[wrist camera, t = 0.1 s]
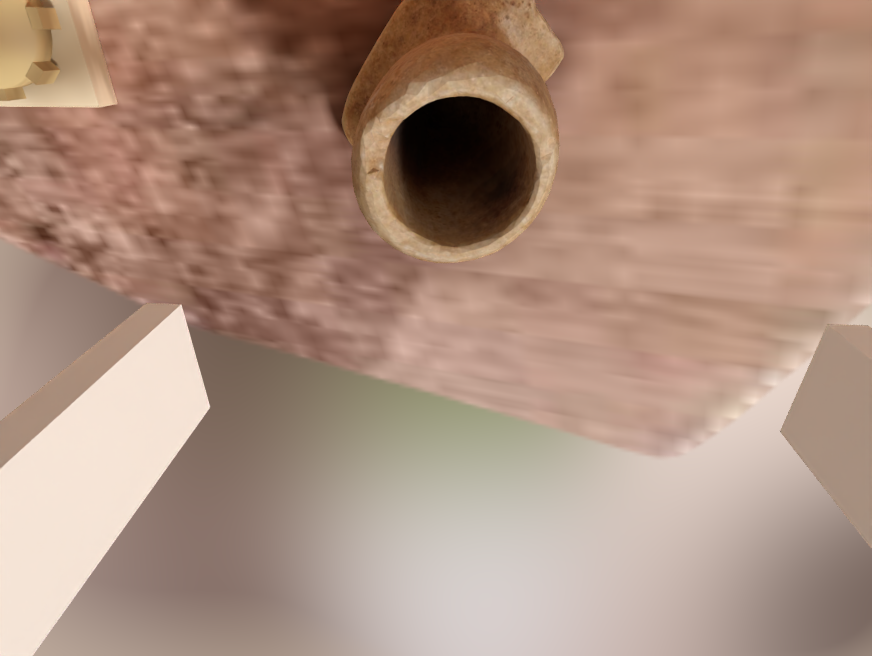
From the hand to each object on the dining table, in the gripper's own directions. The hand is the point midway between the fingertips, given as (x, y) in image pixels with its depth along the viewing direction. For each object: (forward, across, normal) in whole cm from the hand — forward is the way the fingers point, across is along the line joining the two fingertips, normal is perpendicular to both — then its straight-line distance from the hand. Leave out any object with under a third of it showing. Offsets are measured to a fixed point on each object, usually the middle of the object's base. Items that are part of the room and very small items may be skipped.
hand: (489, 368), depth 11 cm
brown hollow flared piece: (+28, -1, +3) cm, 28 cm away
